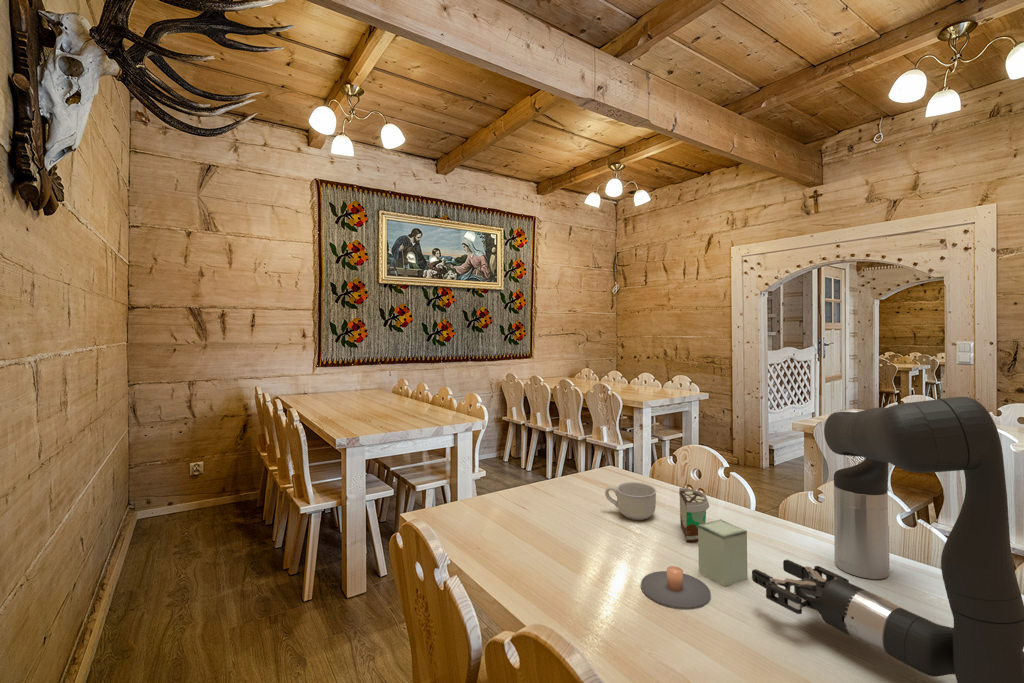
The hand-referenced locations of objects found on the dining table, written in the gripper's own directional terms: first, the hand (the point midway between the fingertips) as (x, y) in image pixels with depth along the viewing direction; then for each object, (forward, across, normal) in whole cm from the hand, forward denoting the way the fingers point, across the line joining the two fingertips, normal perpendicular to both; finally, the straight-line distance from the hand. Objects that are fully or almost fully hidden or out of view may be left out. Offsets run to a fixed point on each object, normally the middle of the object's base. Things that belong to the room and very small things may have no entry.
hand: (769, 569), depth 88 cm
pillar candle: (+11, +13, +6) cm, 18 cm away
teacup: (+46, -4, +6) cm, 46 cm away
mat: (+11, +13, +6) cm, 18 cm away
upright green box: (+11, 0, +6) cm, 12 cm away
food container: (+28, -10, +6) cm, 30 cm away
